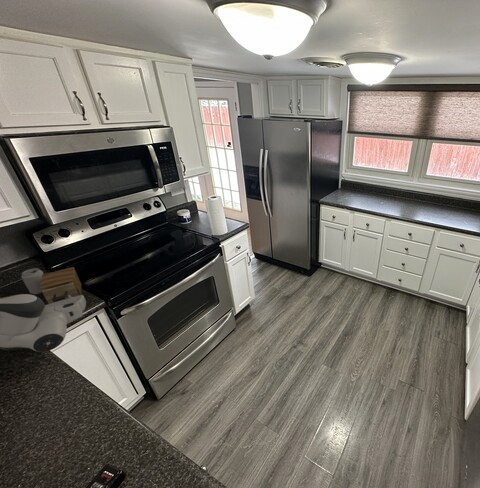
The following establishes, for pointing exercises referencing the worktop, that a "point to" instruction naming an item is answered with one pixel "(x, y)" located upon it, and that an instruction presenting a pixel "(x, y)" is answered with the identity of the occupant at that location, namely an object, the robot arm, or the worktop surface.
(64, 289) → the drawer
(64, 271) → the storage box
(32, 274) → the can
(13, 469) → the worktop surface
